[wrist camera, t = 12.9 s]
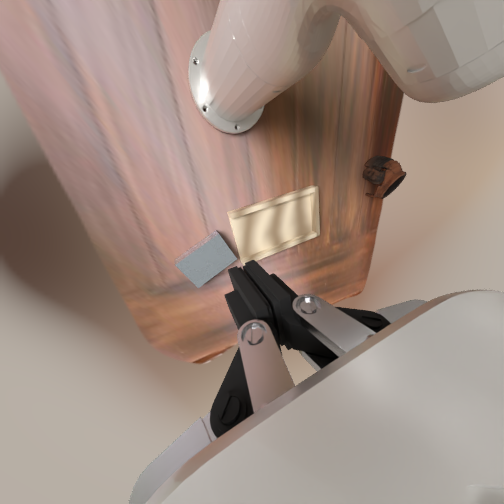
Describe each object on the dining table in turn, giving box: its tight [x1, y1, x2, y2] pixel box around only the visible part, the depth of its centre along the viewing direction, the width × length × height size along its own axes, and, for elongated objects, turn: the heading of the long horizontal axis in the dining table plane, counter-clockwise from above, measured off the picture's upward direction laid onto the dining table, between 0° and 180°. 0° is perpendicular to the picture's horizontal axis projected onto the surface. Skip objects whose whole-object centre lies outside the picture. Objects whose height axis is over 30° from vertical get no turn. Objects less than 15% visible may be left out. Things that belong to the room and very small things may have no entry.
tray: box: [227, 186, 320, 266], centre depth 41 cm, size 21×12×2 cm, turn 105°
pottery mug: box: [363, 156, 406, 199], centre depth 46 cm, size 12×10×8 cm
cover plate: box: [175, 230, 237, 288], centre depth 38 cm, size 10×7×3 cm
